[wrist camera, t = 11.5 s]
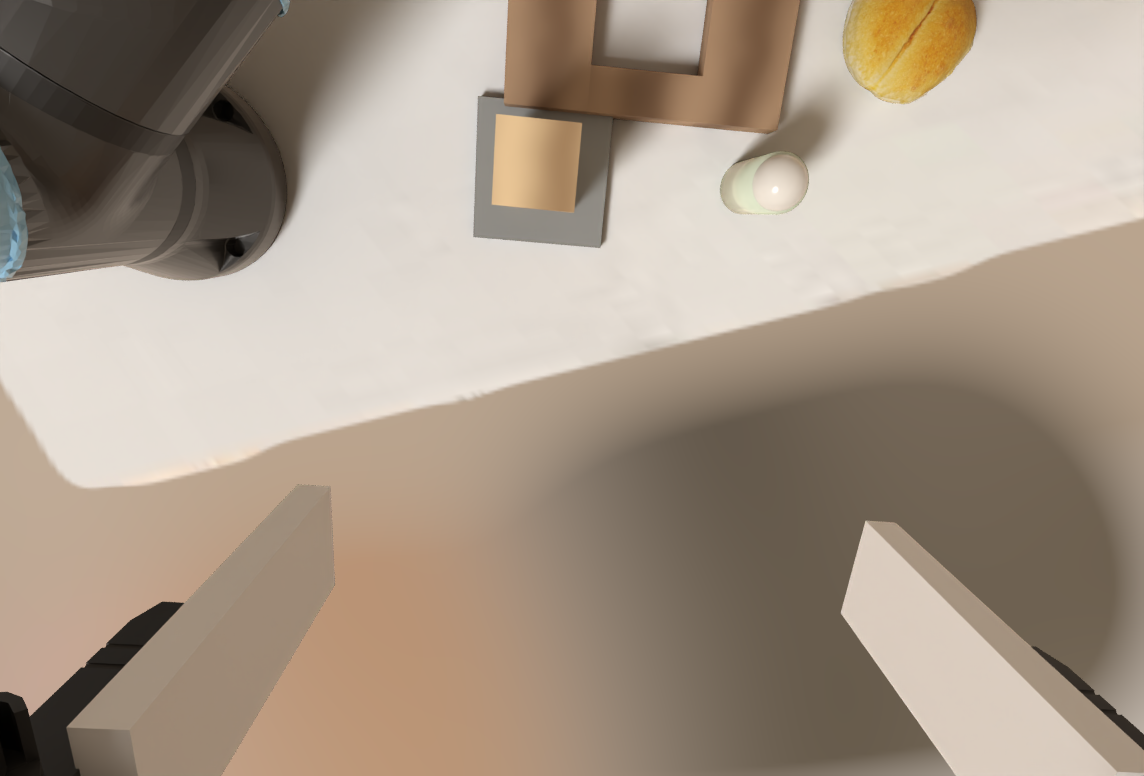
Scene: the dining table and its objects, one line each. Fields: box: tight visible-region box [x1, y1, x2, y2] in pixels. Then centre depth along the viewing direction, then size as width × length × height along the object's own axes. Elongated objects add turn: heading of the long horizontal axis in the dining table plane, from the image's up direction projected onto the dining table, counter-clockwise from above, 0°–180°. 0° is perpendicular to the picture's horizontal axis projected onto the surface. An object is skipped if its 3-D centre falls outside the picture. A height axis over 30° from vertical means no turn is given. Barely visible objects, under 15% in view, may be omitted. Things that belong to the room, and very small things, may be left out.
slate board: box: [473, 96, 613, 248], centre depth 43 cm, size 10×10×1 cm
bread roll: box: [843, 0, 976, 104], centre depth 40 cm, size 8×9×4 cm
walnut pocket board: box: [504, 0, 800, 134], centre depth 40 cm, size 20×14×2 cm
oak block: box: [492, 114, 582, 213], centre depth 38 cm, size 5×5×10 cm
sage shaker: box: [720, 151, 809, 215], centre depth 40 cm, size 4×4×9 cm
